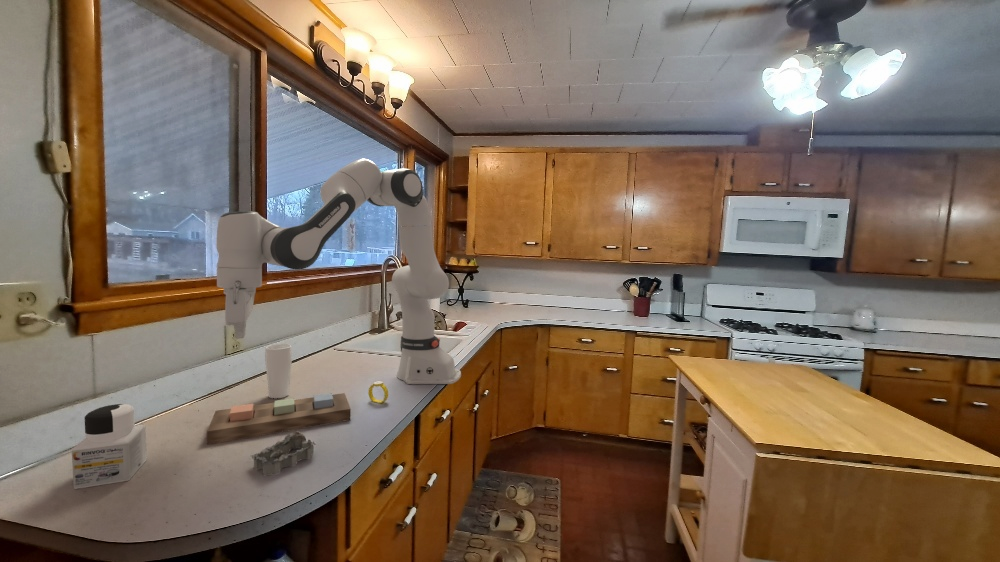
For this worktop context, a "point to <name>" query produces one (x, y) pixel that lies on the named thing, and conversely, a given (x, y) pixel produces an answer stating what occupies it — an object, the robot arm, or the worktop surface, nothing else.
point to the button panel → (277, 419)
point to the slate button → (323, 401)
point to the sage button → (284, 406)
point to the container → (109, 447)
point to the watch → (380, 383)
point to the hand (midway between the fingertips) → (240, 337)
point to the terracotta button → (242, 412)
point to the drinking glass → (278, 369)
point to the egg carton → (283, 454)
